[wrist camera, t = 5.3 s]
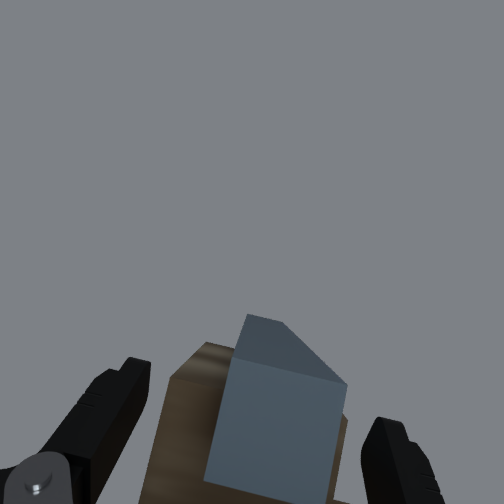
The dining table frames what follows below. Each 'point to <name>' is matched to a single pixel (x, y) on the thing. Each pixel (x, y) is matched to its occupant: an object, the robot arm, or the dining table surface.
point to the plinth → (201, 437)
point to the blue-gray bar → (276, 417)
